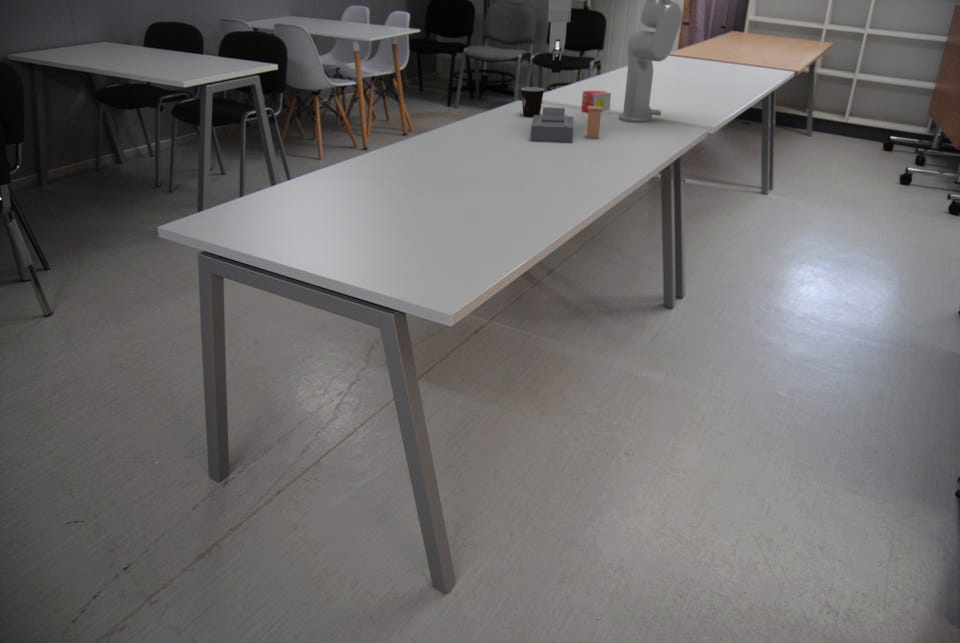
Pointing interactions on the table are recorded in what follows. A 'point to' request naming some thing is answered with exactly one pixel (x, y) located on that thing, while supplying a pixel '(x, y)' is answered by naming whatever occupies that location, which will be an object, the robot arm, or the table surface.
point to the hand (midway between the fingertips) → (556, 70)
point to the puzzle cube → (596, 100)
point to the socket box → (552, 129)
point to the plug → (593, 121)
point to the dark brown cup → (531, 101)
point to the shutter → (553, 114)
